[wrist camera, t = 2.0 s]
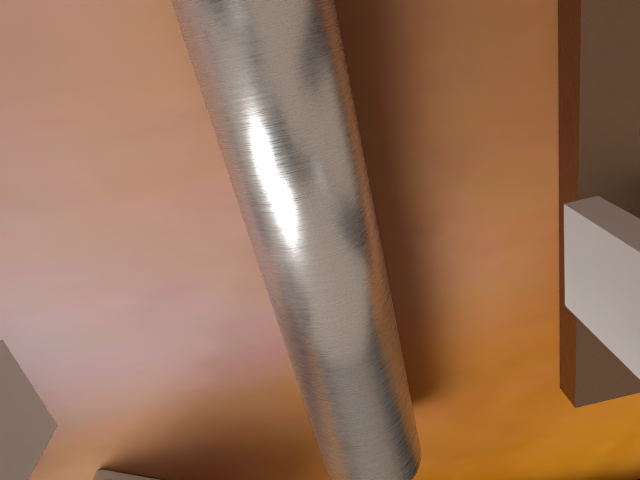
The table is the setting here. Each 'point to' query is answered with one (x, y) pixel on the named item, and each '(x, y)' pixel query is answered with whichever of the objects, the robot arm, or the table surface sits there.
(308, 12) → the steel rod
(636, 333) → the robot arm
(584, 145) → the bracket rack
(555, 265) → the table surface
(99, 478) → the ink box
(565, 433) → the table surface
